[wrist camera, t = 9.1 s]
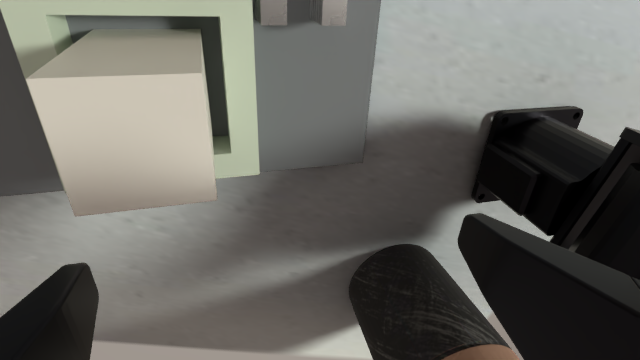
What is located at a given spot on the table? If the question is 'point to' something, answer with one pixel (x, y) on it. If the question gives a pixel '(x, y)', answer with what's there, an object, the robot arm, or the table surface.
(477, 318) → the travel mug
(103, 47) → the beige rectangular block
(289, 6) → the mat
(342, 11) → the set of small cubes
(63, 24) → the end holder
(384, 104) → the table surface
